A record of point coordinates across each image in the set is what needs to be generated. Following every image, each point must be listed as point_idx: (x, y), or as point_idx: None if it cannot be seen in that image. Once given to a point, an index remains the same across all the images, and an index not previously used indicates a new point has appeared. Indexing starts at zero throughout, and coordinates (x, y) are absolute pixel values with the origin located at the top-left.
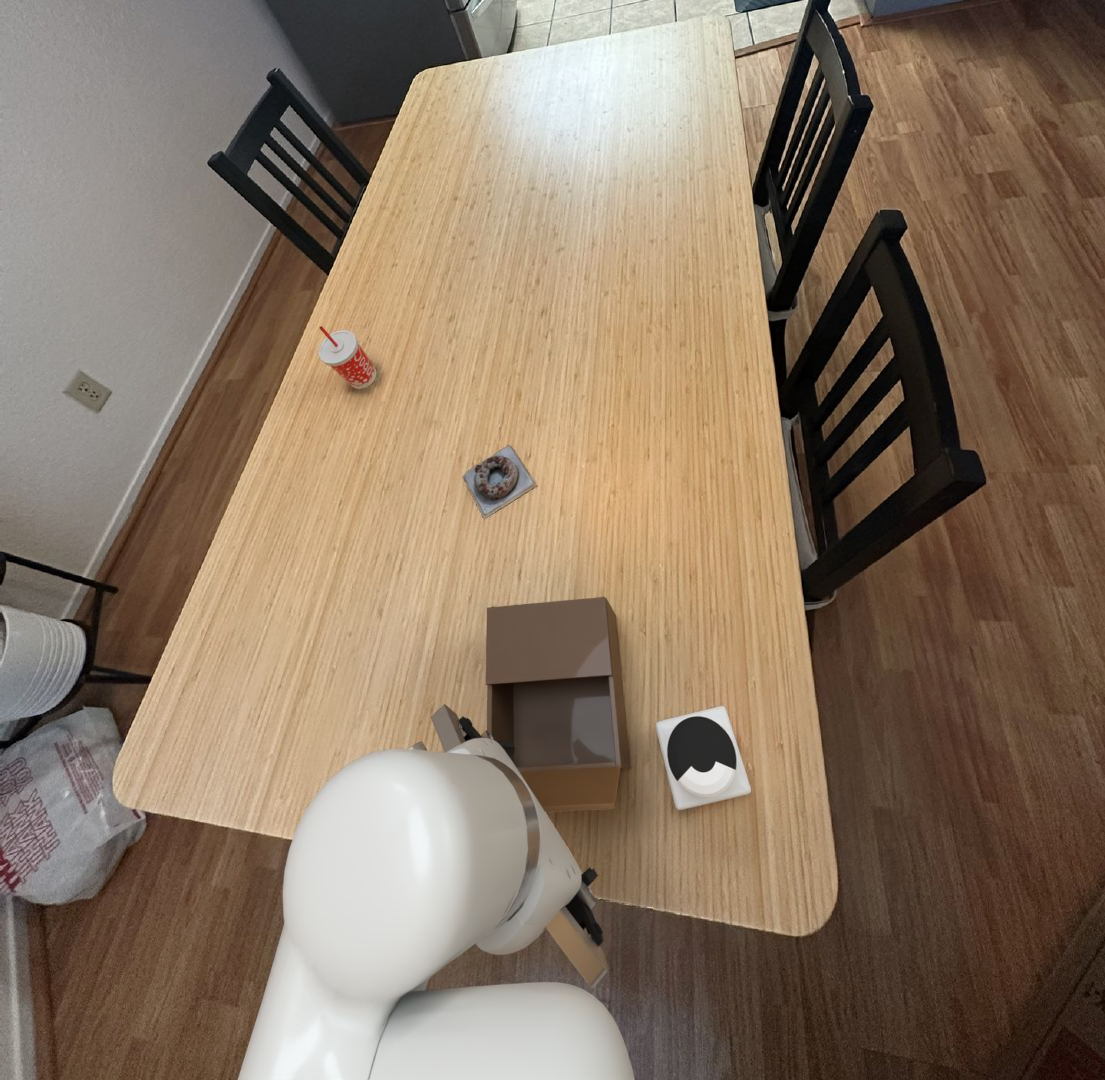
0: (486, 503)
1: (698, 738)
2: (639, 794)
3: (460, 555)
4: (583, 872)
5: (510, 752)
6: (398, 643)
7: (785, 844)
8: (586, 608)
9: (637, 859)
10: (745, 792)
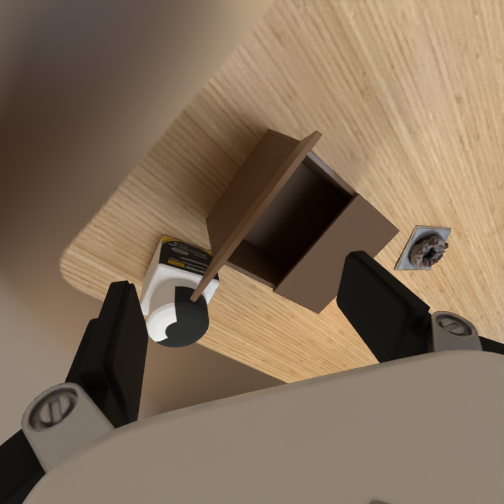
0: (421, 233)
1: (190, 334)
2: (186, 214)
3: (417, 193)
4: (137, 413)
5: (349, 318)
6: (426, 98)
7: (103, 279)
8: (324, 299)
9: (150, 185)
10: None
